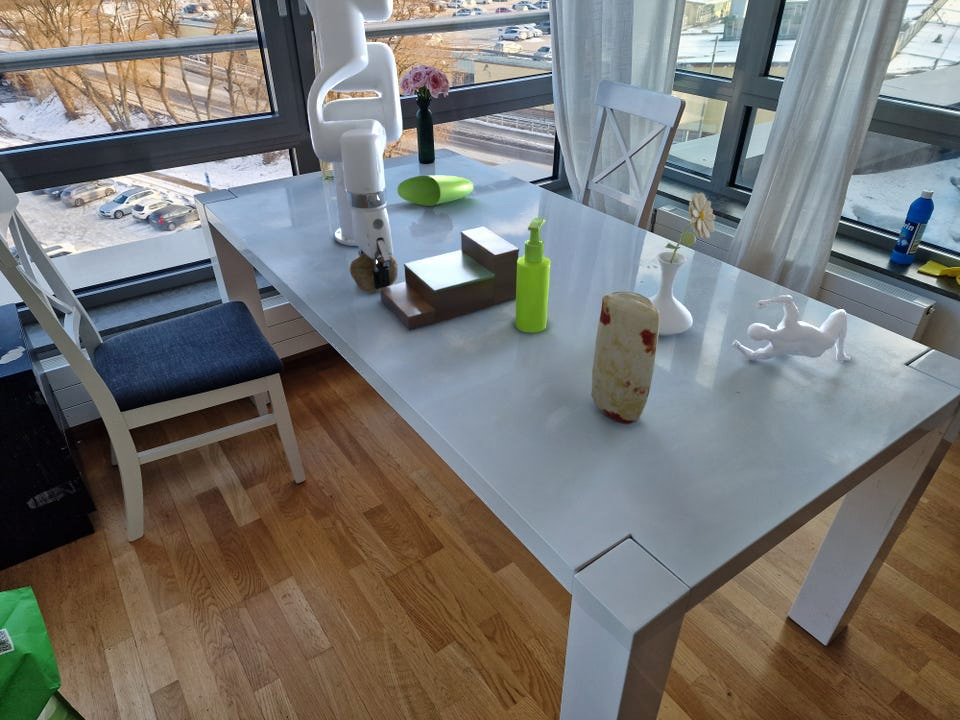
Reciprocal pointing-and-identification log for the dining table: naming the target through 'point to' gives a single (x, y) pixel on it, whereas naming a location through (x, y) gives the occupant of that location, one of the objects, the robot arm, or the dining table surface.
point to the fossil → (370, 272)
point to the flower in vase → (671, 310)
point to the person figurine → (797, 334)
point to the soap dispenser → (532, 283)
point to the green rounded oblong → (434, 189)
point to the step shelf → (455, 281)
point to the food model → (624, 355)
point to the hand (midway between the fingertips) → (375, 279)
